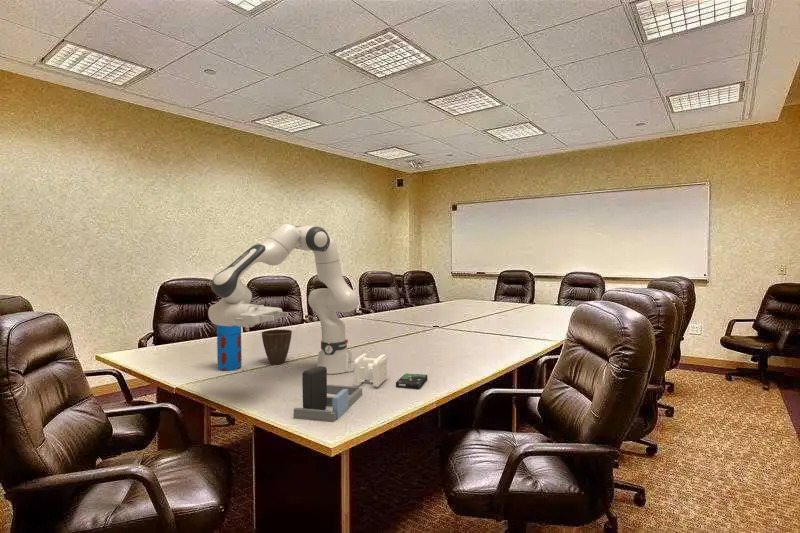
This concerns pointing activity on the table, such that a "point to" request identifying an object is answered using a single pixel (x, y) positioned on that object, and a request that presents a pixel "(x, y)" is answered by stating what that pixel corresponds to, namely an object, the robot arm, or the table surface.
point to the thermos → (229, 348)
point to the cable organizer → (370, 369)
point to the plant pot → (276, 345)
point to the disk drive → (411, 381)
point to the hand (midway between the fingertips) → (280, 316)
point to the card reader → (315, 388)
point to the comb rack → (332, 404)
